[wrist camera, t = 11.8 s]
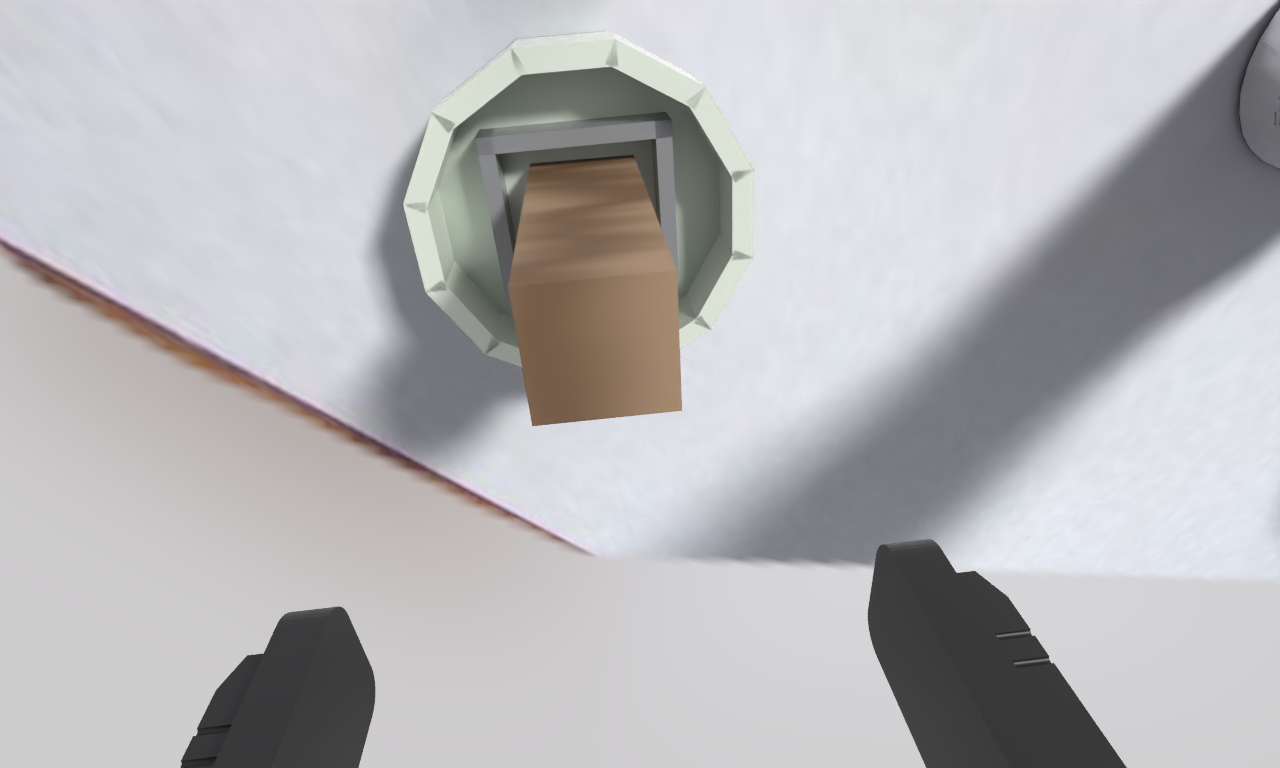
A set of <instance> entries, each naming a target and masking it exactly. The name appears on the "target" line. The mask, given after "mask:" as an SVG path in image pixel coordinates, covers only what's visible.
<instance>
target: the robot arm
mask: <svg viewBox="0 0 1280 768" xmlns="http://www.w3.org/2000/svg"><path fill="white" fill-rule="evenodd" d="M1239 116H1240V122H1241V128H1242V134H1243V136H1244V138H1245V140H1246V142H1247V144H1248V146H1249V148H1250V150H1251V151H1253V152H1254V153H1255V154H1256V155H1257V156H1258V157H1259V158H1260V159H1261V160H1262V161H1264V162H1266V163H1268V164H1270V165H1273V166H1275V167H1277V168H1280V9H1279V10H1278V11H1277V12H1276V14H1275V16H1274V17H1273V19H1272V20H1271V22H1270V24H1269V25H1268V27H1267V28H1266V30H1265V32H1264V33H1263V35H1262V36H1261V38H1260V40H1259V42H1258V44H1257V46H1256V49H1255V51H1254V53H1253V55H1252V58H1251V60H1250V62H1249V64H1248V67H1247V70H1246V74H1245V78H1244V81H1243V85H1242V89H1241V96H1240V110H1239ZM868 624H869V631H870V636H871V640H872V644H873V647H874V650H875V653H876V655H877V658H878V660H879V662H880V664H881V667H882V669H883V671H884V673H885V676H886V678H887V680H888V682H889V685H890V687H891V689H892V691H893V693H894V696H895V698H896V700H897V703H898V705H899V707H900V709H901V712H902V714H903V716H904V718H905V721H906V723H907V725H908V727H909V730H910V732H911V734H912V736H913V739H914V741H915V743H916V745H917V748H918V750H919V752H920V754H921V757H922V759H923V761H924V763H925V766H926V768H1126V766H1125V765H1124V763H1123V762H1122V760H1121V759H1120V758H1119V756H1118V755H1117V753H1116V752H1115V750H1114V749H1113V747H1112V746H1111V745H1110V743H1109V742H1108V740H1107V739H1106V737H1105V736H1104V735H1103V733H1102V732H1101V730H1100V729H1099V727H1098V726H1097V725H1096V723H1095V722H1094V720H1093V719H1092V717H1091V716H1090V714H1089V713H1088V711H1087V710H1086V709H1085V707H1084V706H1083V704H1082V703H1081V701H1080V700H1079V699H1078V697H1077V696H1076V694H1075V693H1074V691H1073V690H1072V689H1071V687H1070V686H1069V684H1068V683H1067V681H1066V680H1065V678H1064V677H1063V676H1062V674H1061V673H1060V671H1059V670H1058V668H1057V667H1056V666H1055V664H1054V663H1051V662H1050V660H1049V655H1048V654H1047V653H1046V651H1045V650H1044V648H1043V647H1042V645H1041V644H1040V643H1039V641H1038V640H1037V638H1036V637H1035V636H1032V635H1031V633H1030V628H1029V627H1028V625H1027V624H1026V622H1025V621H1024V619H1023V618H1022V617H1021V615H1020V614H1019V612H1018V611H1017V609H1016V608H1015V607H1014V605H1013V604H1012V602H1011V601H1010V599H1009V598H1008V597H1007V596H1006V595H1005V594H1003V593H1002V592H1001V591H999V590H998V589H997V588H996V587H995V586H993V585H991V583H989V582H988V581H987V580H986V579H984V578H983V577H982V576H981V575H979V574H978V573H977V572H976V571H971V572H962V573H956V572H955V570H954V568H953V567H952V565H951V564H950V562H949V561H948V559H947V557H946V556H945V554H944V553H943V551H942V550H941V548H940V547H939V545H938V544H937V543H936V542H934V541H933V540H930V539H927V540H919V541H910V542H902V543H893V544H885V545H881V546H879V548H878V550H877V554H876V561H875V567H874V574H873V581H872V588H871V594H870V602H869V608H868ZM374 704H375V680H374V674H373V670H372V668H371V665H370V663H369V661H368V659H367V656H366V654H365V652H364V650H363V647H362V645H361V643H360V641H359V638H358V636H357V634H356V632H355V629H354V627H353V625H352V623H351V620H350V618H349V616H348V614H347V612H346V611H345V609H343V608H342V607H331V608H323V609H315V610H306V611H297V612H290V613H287V614H285V615H284V616H283V617H282V618H281V619H280V620H279V622H278V624H277V626H276V628H275V630H274V632H273V635H272V637H271V639H270V641H269V644H268V646H267V648H266V650H265V652H264V654H257V655H248V656H247V657H246V658H245V659H244V660H243V661H242V662H241V663H240V664H239V665H238V666H237V668H236V669H235V670H234V671H233V672H232V673H231V674H230V675H229V676H228V678H227V679H226V680H225V681H224V682H223V683H222V684H221V685H220V686H219V688H218V689H217V690H216V692H215V694H214V696H213V698H212V700H211V702H210V704H209V706H208V708H207V710H206V712H205V714H204V716H203V718H202V720H201V722H200V724H199V726H198V728H197V729H198V733H197V735H196V736H193V738H192V740H191V742H190V744H189V746H188V748H187V750H186V752H185V754H184V756H183V758H182V760H181V762H182V765H181V768H358V767H359V763H360V760H361V756H362V752H363V748H364V745H365V741H366V737H367V733H368V729H369V726H370V722H371V719H372V715H373V710H374Z"/></svg>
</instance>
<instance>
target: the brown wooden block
mask: <svg viewBox="0 0 1280 768" xmlns="http://www.w3.org/2000/svg"><path fill="white" fill-rule="evenodd" d="M508 289H509V295H510V300H511V306H512V312H513V318H514V323H515V329H516V335H517V340H518V346H519V352H520V358H521V363H522V369H523V375H524V381H525V386H526V392H527V398H528V403H529V409H530V415H531V421H532V426H538V425H548V424H557V423H567V422H576V421H586V420H596V419H605V418H615V417H625V416H634V415H644V414H654V413H663V412H673V411H682V400H681V371H680V341H679V312H678V283H677V269H676V266H675V264H674V261H673V259H672V256H671V253H670V251H669V248H668V245H667V243H666V240H665V237H664V235H663V232H662V229H661V227H660V224H659V221H658V219H657V216H656V213H655V211H654V208H653V205H652V203H651V200H650V197H649V195H648V192H647V189H646V187H645V184H644V181H643V179H642V176H641V173H640V171H639V168H638V165H637V163H636V160H635V157H634V155H624V156H612V157H601V158H589V159H577V160H565V161H553V162H542V163H530V167H529V172H528V178H527V184H526V189H525V195H524V200H523V206H522V212H521V217H520V223H519V228H518V234H517V239H516V245H515V251H514V256H513V262H512V267H511V273H510V279H509V284H508Z"/></svg>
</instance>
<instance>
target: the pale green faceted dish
mask: <svg viewBox="0 0 1280 768" xmlns="http://www.w3.org/2000/svg"><path fill="white" fill-rule="evenodd" d="M624 155H634V157H635V160H636V163H637V165H638V168H639V171H640V173H641V176H642V179H643V181H644V184H645V187H646V189H647V192H648V195H649V197H650V200H651V203H652V205H653V208H654V211H655V213H656V216H657V219H658V221H659V224H660V227H661V229H662V232H663V235H664V237H665V240H666V243H667V245H668V248H669V251H670V253H671V256H672V259H673V261H674V264H675V266H676V269H677V283H678V312H679V341H680V349H682V348H683V347H685V346H687V345H688V344H690V343H691V342H693V341H694V340H696V339H698V338H699V337H701V336H702V335H704V334H705V333H707V332H709V331H710V330H711V329H712V328H713V326H714V324H715V322H716V321H717V319H718V317H719V315H720V314H721V312H722V310H723V309H724V307H725V305H726V303H727V302H728V300H729V298H730V297H731V295H732V293H733V291H734V290H735V288H736V286H737V284H738V283H739V281H740V279H741V278H742V276H743V274H744V272H745V271H746V269H747V267H748V265H749V264H750V262H751V260H752V259H753V212H754V169H753V167H752V165H751V163H750V162H749V160H748V158H747V156H746V155H745V153H744V151H743V150H742V148H741V146H740V144H739V143H738V141H737V139H736V137H735V136H734V134H733V132H732V131H731V129H730V127H729V125H728V124H727V122H726V120H725V118H724V117H723V115H722V113H721V112H720V110H719V108H718V106H717V105H716V103H715V101H714V99H713V98H712V96H711V94H710V93H709V91H708V89H707V87H706V86H705V85H704V84H702V83H701V82H700V81H699V80H697V79H696V78H695V77H694V76H693V75H691V74H690V73H688V72H686V71H684V70H682V69H680V68H679V67H677V66H675V65H673V64H671V63H669V62H667V61H665V60H663V59H662V58H660V57H658V56H656V55H654V54H652V53H650V52H648V51H647V50H645V49H643V48H641V47H639V46H637V45H635V44H633V43H631V42H630V41H628V40H626V39H624V38H622V37H620V36H618V35H616V34H615V33H613V32H611V31H602V32H591V33H580V34H569V35H558V36H547V37H535V38H524V39H517V40H516V41H515V42H513V43H512V44H511V45H510V46H508V47H507V48H506V49H505V50H503V51H502V52H501V53H500V54H498V55H497V56H496V57H495V58H494V59H492V60H491V61H490V62H489V63H487V64H486V65H485V66H484V67H482V68H481V69H480V70H479V71H477V72H476V73H475V74H474V75H473V76H471V77H470V78H469V79H468V80H466V81H465V82H464V83H463V84H461V85H460V86H459V87H458V88H457V89H455V90H454V91H453V92H452V93H450V94H449V95H448V96H447V97H446V98H445V99H444V100H443V101H442V102H441V103H440V104H439V105H438V106H437V107H436V108H435V109H434V110H433V111H432V113H431V116H430V120H429V123H428V126H427V129H426V132H425V136H424V139H423V142H422V145H421V148H420V152H419V155H418V158H417V161H416V164H415V168H414V171H413V174H412V177H411V180H410V183H409V187H408V190H407V193H406V196H405V199H404V203H403V207H404V211H405V214H406V218H407V222H408V226H409V230H410V234H411V238H412V242H413V245H414V249H415V253H416V257H417V261H418V265H419V269H420V273H421V276H422V280H423V284H424V288H425V292H426V293H427V294H428V295H429V296H430V297H431V298H432V300H433V301H434V302H435V303H436V304H437V305H438V306H439V307H440V308H441V309H442V310H443V311H444V312H445V313H446V314H447V315H448V316H449V317H450V318H451V319H452V321H453V322H454V323H455V324H456V325H457V326H458V327H459V328H460V329H461V330H462V331H463V332H464V333H465V334H466V335H467V336H468V337H469V338H470V339H471V340H472V342H473V343H474V344H475V345H476V346H477V347H478V348H479V349H480V350H481V351H482V352H483V353H484V354H485V355H488V356H490V357H493V358H496V359H499V360H502V361H505V362H507V363H510V364H513V365H516V366H519V367H521V368H522V363H521V358H520V352H519V346H518V340H517V335H516V329H515V323H514V318H513V312H512V306H511V300H510V295H509V289H508V284H509V279H510V273H511V267H512V262H513V256H514V251H515V245H516V239H517V234H518V228H519V223H520V217H521V212H522V206H523V200H524V195H525V189H526V184H527V178H528V172H529V167H530V163H542V162H553V161H565V160H577V159H589V158H601V157H612V156H624Z"/></svg>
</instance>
